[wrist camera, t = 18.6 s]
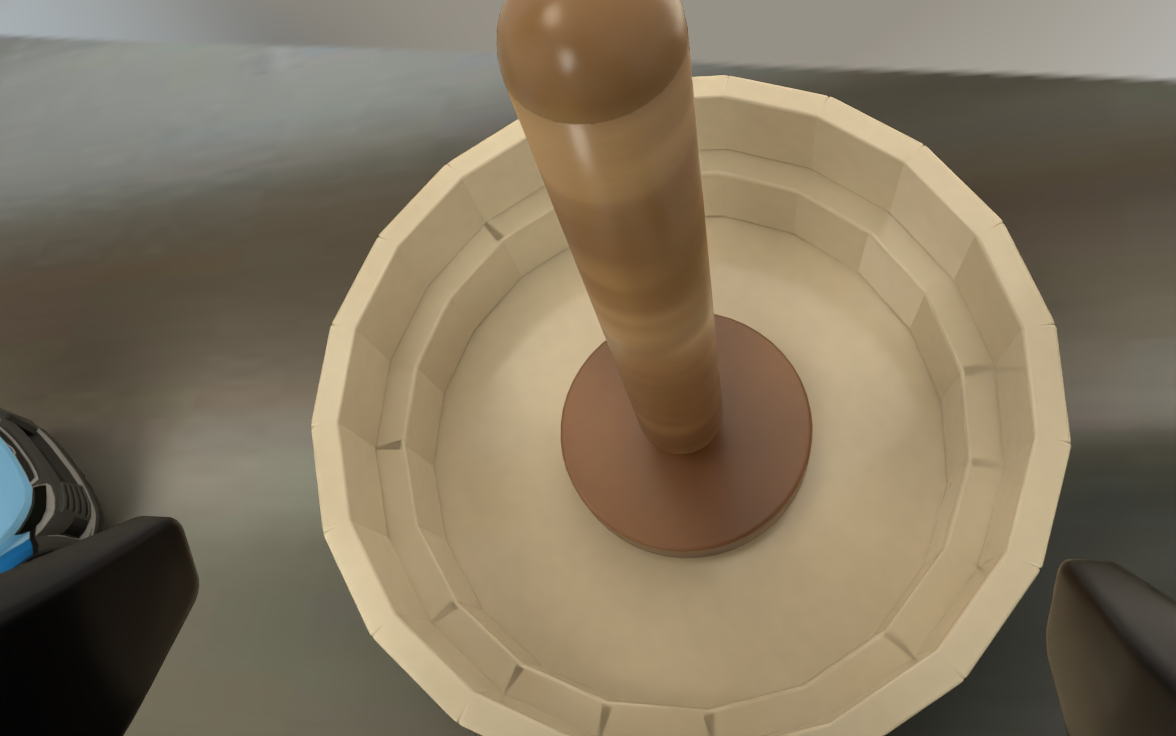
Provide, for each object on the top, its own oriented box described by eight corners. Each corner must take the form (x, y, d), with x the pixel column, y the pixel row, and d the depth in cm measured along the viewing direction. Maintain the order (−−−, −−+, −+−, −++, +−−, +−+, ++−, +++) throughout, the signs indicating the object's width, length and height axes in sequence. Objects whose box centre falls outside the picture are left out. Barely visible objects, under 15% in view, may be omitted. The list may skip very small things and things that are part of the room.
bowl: (1031, 803, 17) (1123, 838, 12) (352, 737, 19) (245, 747, 15) (970, 180, 22) (1022, 56, 17) (439, 197, 24) (375, 93, 20)
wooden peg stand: (658, 610, 19) (463, 411, 6) (524, 415, 21) (173, -35, 8) (862, 460, 19) (1090, -27, 6) (710, 285, 21) (651, -337, 8)
